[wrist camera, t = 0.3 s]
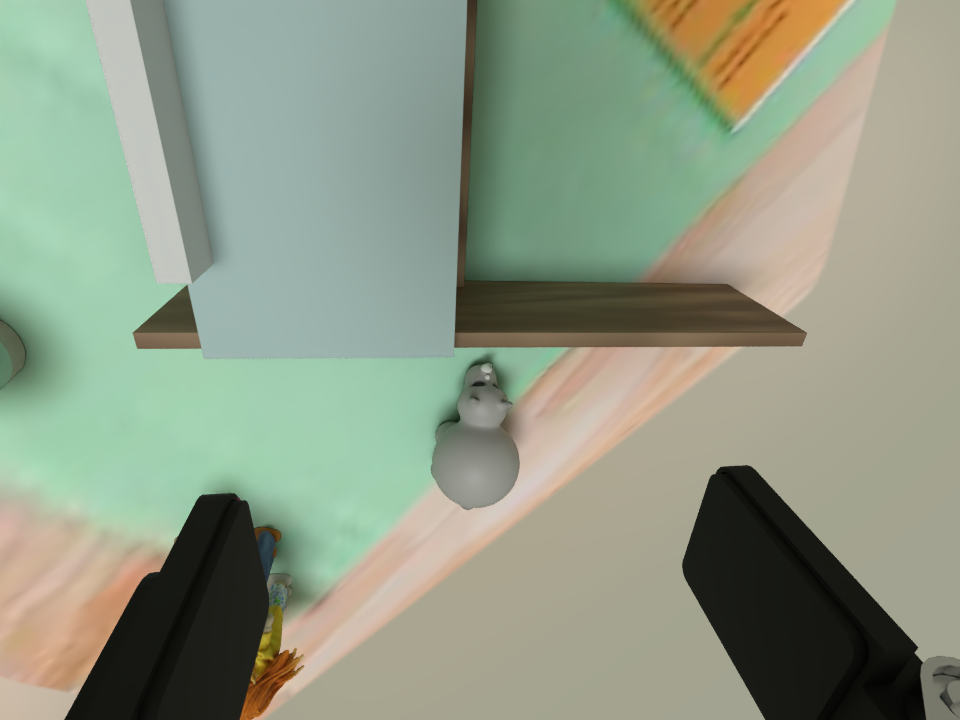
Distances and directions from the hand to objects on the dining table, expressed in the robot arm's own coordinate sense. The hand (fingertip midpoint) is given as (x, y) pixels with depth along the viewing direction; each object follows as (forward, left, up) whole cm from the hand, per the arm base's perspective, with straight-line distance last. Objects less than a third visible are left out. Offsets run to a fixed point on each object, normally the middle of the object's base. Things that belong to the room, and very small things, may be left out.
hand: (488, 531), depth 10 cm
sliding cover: (-7, -6, -20) cm, 22 cm away
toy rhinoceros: (+18, +4, -31) cm, 35 cm away
